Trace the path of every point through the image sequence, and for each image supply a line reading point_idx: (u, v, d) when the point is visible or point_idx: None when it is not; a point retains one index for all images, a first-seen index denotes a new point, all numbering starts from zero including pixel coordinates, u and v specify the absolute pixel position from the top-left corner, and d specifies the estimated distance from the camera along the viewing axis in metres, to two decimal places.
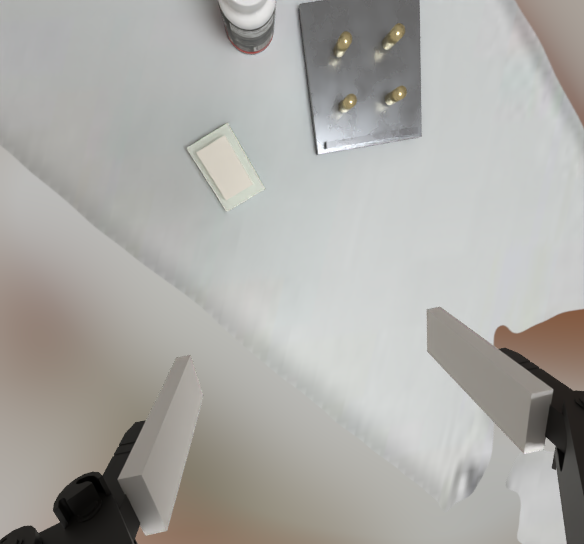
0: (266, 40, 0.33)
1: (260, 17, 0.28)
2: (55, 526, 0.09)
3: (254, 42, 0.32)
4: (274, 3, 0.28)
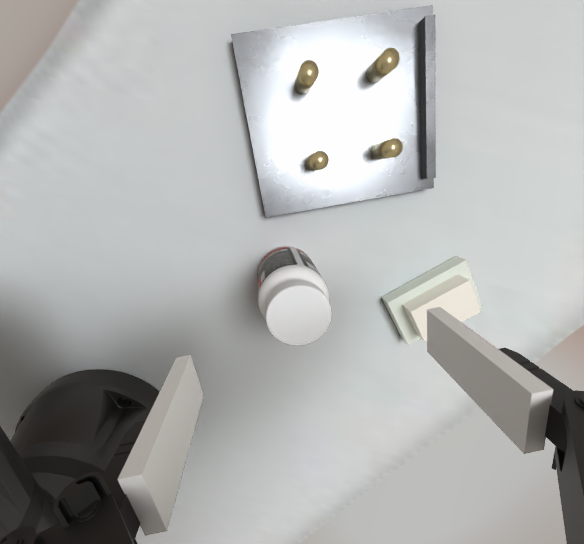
0: (311, 261, 0.27)
1: (323, 286, 0.22)
2: (55, 526, 0.09)
3: None
4: (305, 268, 0.22)
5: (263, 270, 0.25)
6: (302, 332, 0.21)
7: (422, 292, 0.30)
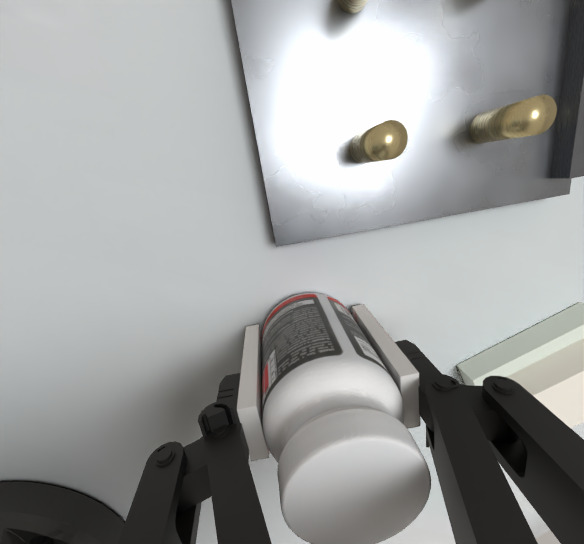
0: (355, 322, 0.15)
1: (397, 402, 0.11)
2: (190, 445, 0.11)
3: None
4: (361, 366, 0.11)
5: (272, 348, 0.13)
6: (363, 526, 0.09)
7: (530, 363, 0.18)
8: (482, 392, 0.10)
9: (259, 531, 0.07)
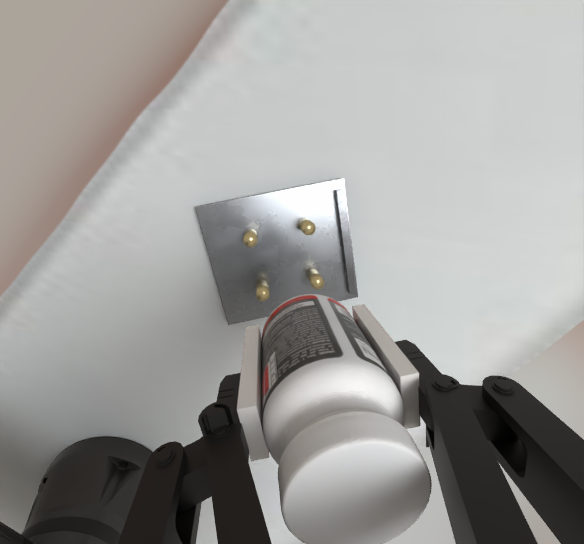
0: (356, 324, 0.15)
1: (398, 404, 0.11)
2: (190, 445, 0.11)
3: None
4: (361, 368, 0.11)
5: (272, 350, 0.13)
6: (363, 529, 0.09)
7: None
8: (482, 392, 0.10)
9: (259, 531, 0.07)
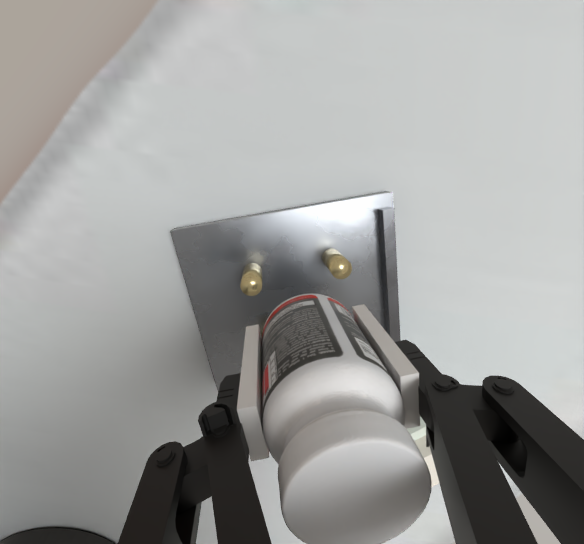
0: None
1: (398, 403, 0.11)
2: (190, 445, 0.11)
3: None
4: (361, 367, 0.11)
5: (272, 349, 0.13)
6: (363, 528, 0.09)
7: None
8: (482, 392, 0.10)
9: (259, 531, 0.07)
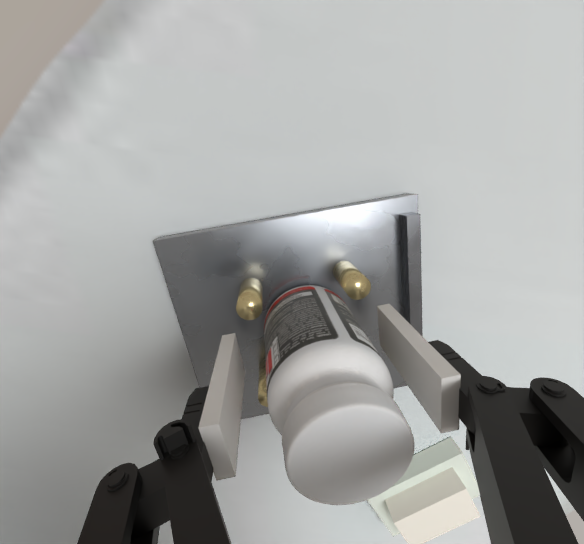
0: (350, 312, 0.17)
1: (387, 379, 0.12)
2: (148, 465, 0.10)
3: None
4: (354, 348, 0.12)
5: (275, 335, 0.15)
6: (356, 484, 0.11)
7: (409, 487, 0.25)
8: (529, 393, 0.10)
9: None
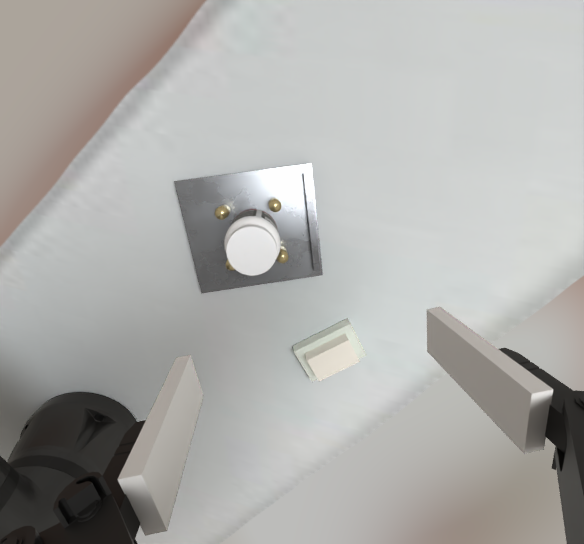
0: (272, 220, 0.33)
1: (274, 233, 0.29)
2: (55, 526, 0.09)
3: None
4: (260, 218, 0.28)
5: None
6: (254, 264, 0.27)
7: (319, 345, 0.41)
8: None
9: None
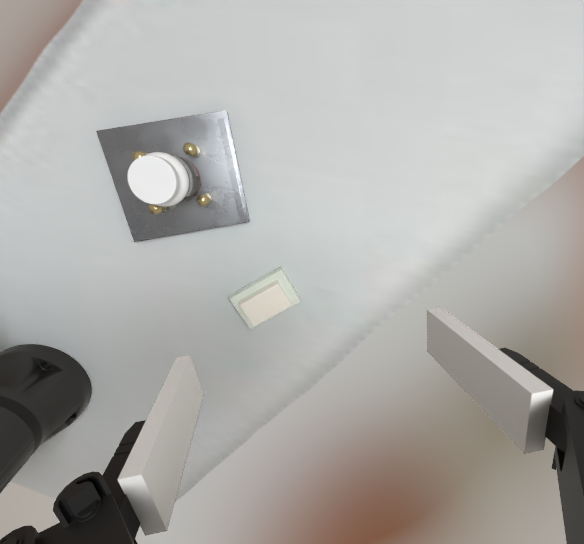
0: (189, 163, 0.35)
1: (179, 167, 0.31)
2: (55, 526, 0.09)
3: (194, 175, 0.35)
4: (165, 153, 0.31)
5: None
6: (156, 193, 0.29)
7: (253, 291, 0.43)
8: None
9: None
